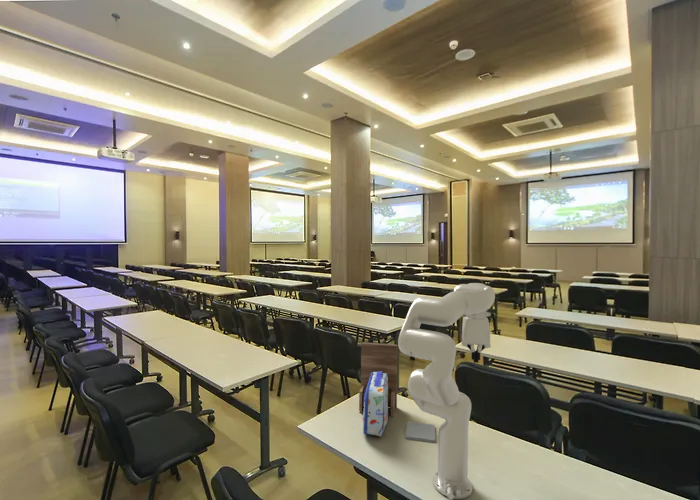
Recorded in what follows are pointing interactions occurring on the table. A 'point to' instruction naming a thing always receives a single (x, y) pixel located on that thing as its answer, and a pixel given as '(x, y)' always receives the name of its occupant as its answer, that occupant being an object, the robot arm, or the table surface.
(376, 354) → the display stand
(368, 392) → the lunch box
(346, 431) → the table surface
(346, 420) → the table surface
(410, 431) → the notebook
